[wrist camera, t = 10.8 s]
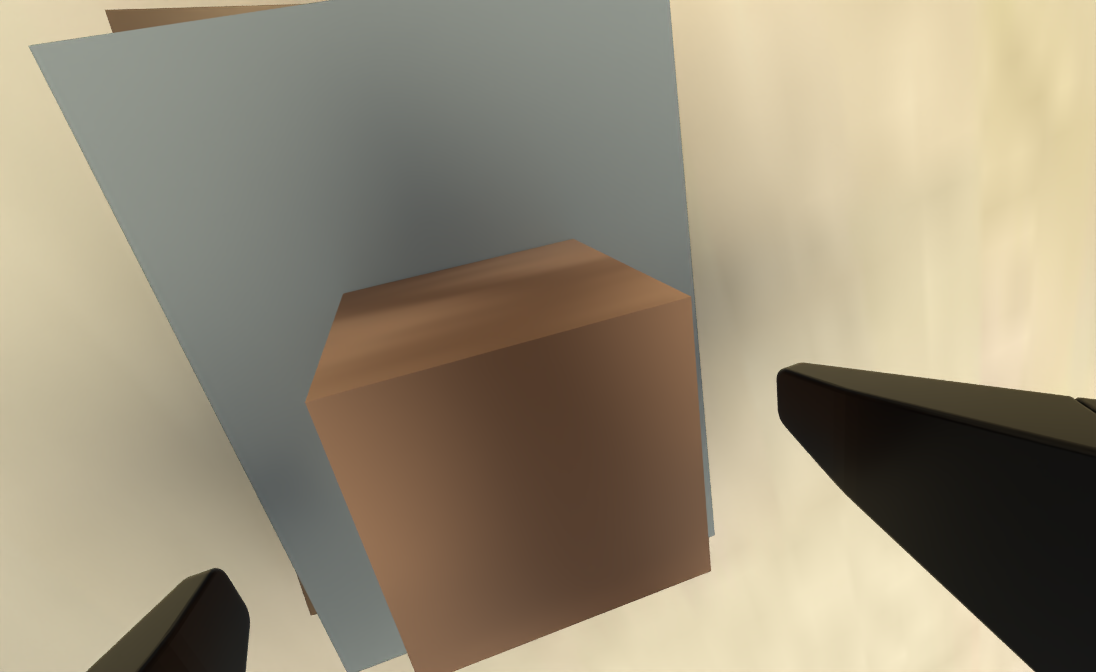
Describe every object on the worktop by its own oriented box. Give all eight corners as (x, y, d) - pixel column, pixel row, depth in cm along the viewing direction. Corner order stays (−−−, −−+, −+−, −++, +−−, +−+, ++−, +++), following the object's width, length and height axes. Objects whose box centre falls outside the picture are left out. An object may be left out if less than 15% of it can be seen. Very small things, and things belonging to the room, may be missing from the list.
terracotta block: (410, 489, 12) (420, 684, 8) (343, 293, 10) (305, 402, 6) (603, 428, 13) (711, 571, 9) (573, 238, 11) (690, 296, 7)
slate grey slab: (355, 601, 16) (348, 675, 14) (109, 68, 10) (28, 45, 8) (674, 486, 18) (714, 534, 16) (615, -14, 12) (665, -51, 10)
